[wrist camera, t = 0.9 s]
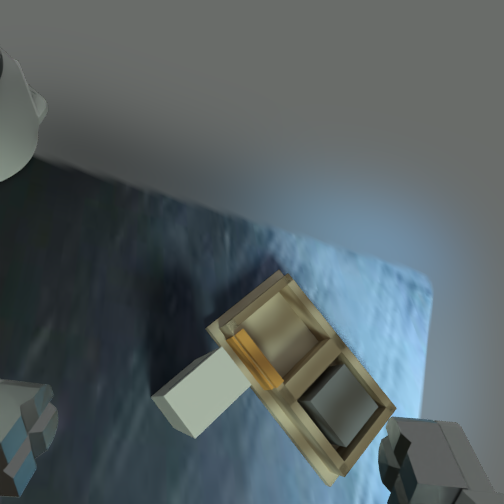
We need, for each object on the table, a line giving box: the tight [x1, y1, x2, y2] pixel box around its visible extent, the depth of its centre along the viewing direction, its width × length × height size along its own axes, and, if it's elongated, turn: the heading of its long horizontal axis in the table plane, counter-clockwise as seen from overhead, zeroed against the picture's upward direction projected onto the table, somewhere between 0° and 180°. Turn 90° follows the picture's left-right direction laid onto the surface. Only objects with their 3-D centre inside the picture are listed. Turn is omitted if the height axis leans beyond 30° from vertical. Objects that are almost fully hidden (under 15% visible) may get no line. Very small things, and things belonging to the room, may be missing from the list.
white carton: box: [151, 347, 251, 438], centre depth 36 cm, size 4×6×12 cm
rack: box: [205, 270, 397, 487], centre depth 44 cm, size 22×12×5 cm, turn 41°
